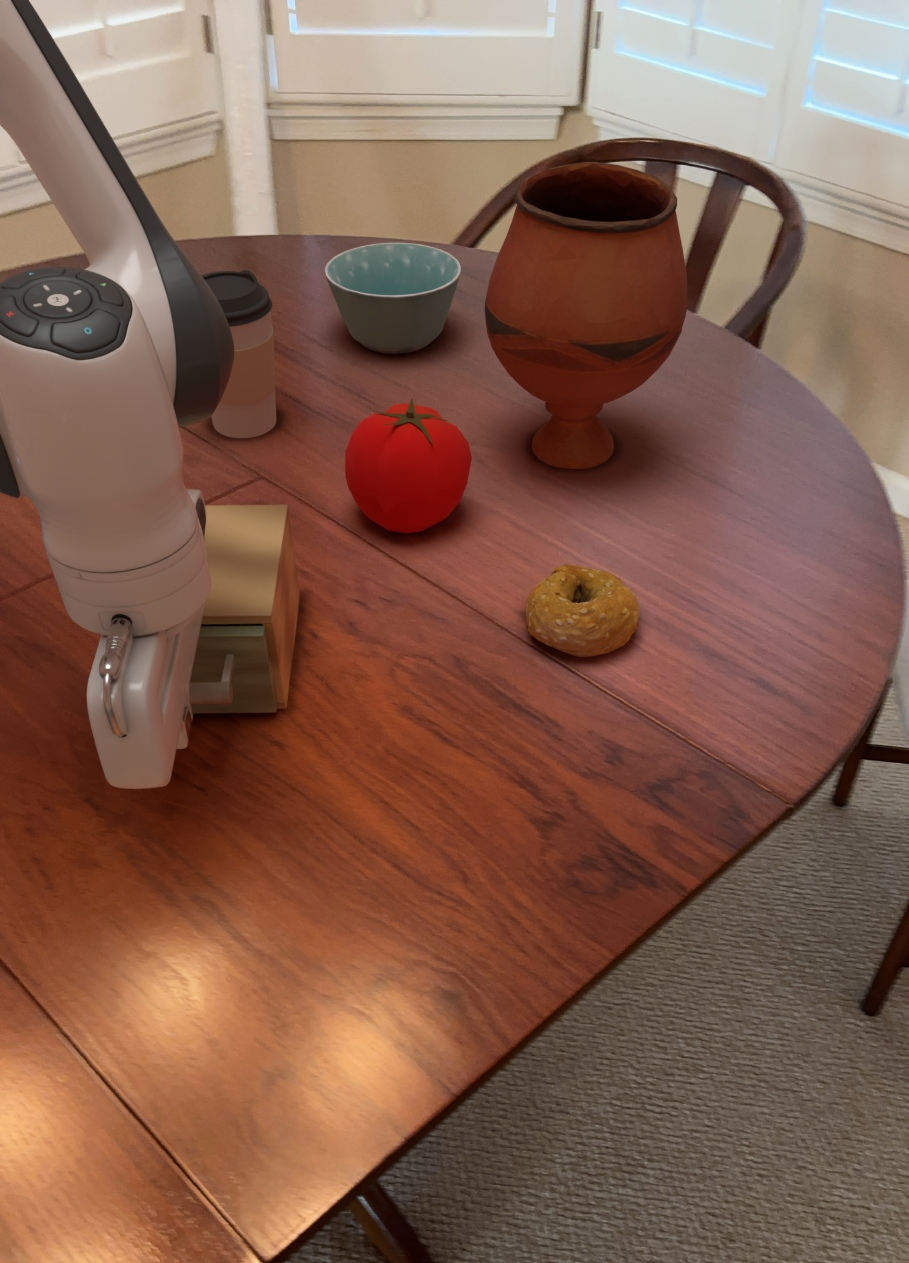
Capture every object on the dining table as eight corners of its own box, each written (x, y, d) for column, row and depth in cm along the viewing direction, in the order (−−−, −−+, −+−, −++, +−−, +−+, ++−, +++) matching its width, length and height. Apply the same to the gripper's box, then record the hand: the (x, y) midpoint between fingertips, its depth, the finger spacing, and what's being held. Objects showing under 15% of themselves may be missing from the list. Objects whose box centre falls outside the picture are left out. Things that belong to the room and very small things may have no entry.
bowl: (338, 308, 134) (332, 238, 128) (462, 310, 134) (463, 240, 128) (323, 367, 124) (316, 294, 118) (458, 370, 124) (458, 297, 117)
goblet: (504, 510, 105) (515, 240, 86) (465, 413, 117) (467, 159, 98) (689, 489, 107) (740, 223, 88) (632, 396, 120) (665, 145, 101)
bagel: (652, 602, 95) (660, 557, 91) (617, 678, 88) (624, 633, 85) (546, 576, 97) (550, 532, 94) (505, 649, 91) (507, 604, 87)
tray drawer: (270, 756, 81) (256, 679, 75) (120, 758, 81) (94, 681, 75) (290, 606, 93) (279, 529, 87) (159, 607, 93) (139, 531, 87)
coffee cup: (227, 454, 111) (202, 309, 100) (188, 418, 116) (159, 276, 105) (302, 428, 115) (286, 285, 104) (261, 394, 120) (241, 254, 108)
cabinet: (286, 710, 86) (271, 615, 78) (129, 712, 86) (99, 617, 78) (300, 598, 95) (287, 504, 88) (159, 599, 95) (135, 505, 88)
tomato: (344, 550, 100) (334, 441, 92) (352, 483, 108) (344, 377, 99) (471, 551, 100) (472, 442, 92) (471, 484, 108) (472, 377, 99)
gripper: (159, 684, 57) (205, 848, 67) (206, 476, 70) (238, 640, 81) (40, 687, 57) (105, 851, 67) (110, 479, 70) (155, 642, 81)
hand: (178, 734), depth 74 cm, fingers closed
